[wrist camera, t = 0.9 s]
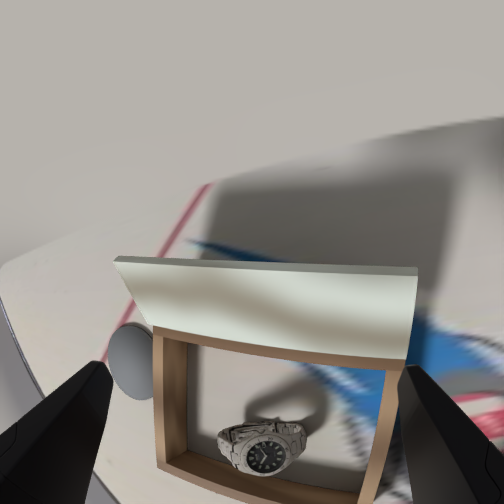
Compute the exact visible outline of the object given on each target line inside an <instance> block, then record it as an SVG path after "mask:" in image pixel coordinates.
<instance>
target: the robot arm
mask: <svg viewBox="0 0 504 504" xmlns="http://www.w3.org/2000/svg"><path fill="white" fill-rule="evenodd" d="M112 389H113V378H112V376H111V374H110V372H109V370H108V368H107V367H106V365H105V363H103V362H101V361H91V362H89V363H88V364H87V365H85V366H84V367H83V368H82V369H80V370H79V371H78V372H77V373H76V374H74V375H73V376H72V377H71V378H69V379H68V380H67V381H66V382H64V383H63V384H62V385H61V386H59V387H58V388H57V389H56V390H55V391H53V392H52V393H51V394H50V395H48V396H47V397H46V398H45V399H44V400H42V401H41V402H40V403H39V404H37V405H36V406H35V407H34V408H33V409H31V410H30V411H29V412H28V413H27V414H25V415H24V416H23V417H22V418H21V419H20V420H18V422H16V423H14V424H13V425H12V426H11V427H9V428H8V429H7V430H6V431H4V432H3V433H2V434H1V435H0V504H85V499H86V495H87V491H88V487H89V483H90V479H91V475H92V471H93V468H94V464H95V460H96V456H97V453H98V449H99V446H100V442H101V438H102V435H103V432H104V428H105V424H106V420H107V415H108V409H109V404H110V399H111V394H112ZM397 392H398V402H399V412H400V423H401V433H402V439H403V445H404V450H405V455H406V461H407V466H408V472H409V478H410V484H411V491H412V498H413V504H504V455H503V454H502V453H501V452H500V451H499V450H498V449H497V448H496V446H495V445H494V444H493V443H492V442H491V441H489V439H488V438H487V437H486V436H485V434H484V433H483V432H482V431H481V430H480V429H479V428H478V427H477V426H476V425H475V424H474V422H473V421H472V420H471V419H470V418H469V417H468V416H467V415H466V414H465V413H464V412H463V411H462V410H461V408H460V407H459V406H458V405H457V404H456V403H455V402H454V401H453V400H452V399H451V398H450V397H449V396H448V395H447V394H446V393H445V392H444V390H443V389H442V388H441V387H440V386H439V385H438V384H437V383H436V382H435V381H434V380H433V379H432V378H431V377H430V376H429V375H428V374H427V373H426V372H425V371H424V370H423V369H422V368H421V367H420V366H419V365H417V364H414V365H407V366H405V367H404V368H403V371H402V373H401V376H400V378H399V381H398V384H397Z"/></svg>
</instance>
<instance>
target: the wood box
mask: <svg viewBox="0 0 504 504" xmlns="http://www.w3.org/2000/svg"><path fill="white" fill-rule="evenodd" d="M113 262H114V264H115V266H116V268H117V270H118V272H119V274H120V276H121V277H122V279H123V281H124V283H125V285H126V287H127V288H128V290H129V292H130V294H131V296H132V297H133V299H134V301H135V303H136V304H137V306H138V308H139V309H140V311H141V313H142V315H143V316H144V318H145V320H146V321H147V323H148V324H149V325H153V402H154V426H155V443H156V457H157V468H159V469H161V470H163V471H165V472H168V473H170V474H172V475H174V476H176V477H179V478H181V479H183V480H186V481H188V482H190V483H193V484H195V485H198V486H200V487H203V488H205V489H208V490H210V491H213V492H216V493H218V494H221V495H224V496H227V497H230V498H233V499H236V500H239V501H242V502H245V503H248V504H373V501H374V498H375V495H376V491H377V488H378V485H379V482H380V478H381V475H382V471H383V468H384V464H385V460H386V456H387V453H388V449H389V445H390V440H391V436H392V432H393V427H394V423H395V418H396V413H397V408H398V403H399V402H398V392H397V384H398V381H399V378H400V376H401V373H402V371H403V368H404V367H405V360H406V357H407V352H408V346H409V341H410V335H411V328H412V322H413V315H414V308H415V300H416V291H417V282H418V267H399V266H365V265H334V264H305V263H277V262H251V261H226V260H202V259H178V258H156V257H134V256H118V257H117V258H116V259H115V260H114V261H113ZM187 342H188V343H193V344H198V345H203V346H208V347H213V348H218V349H223V350H229V351H234V352H240V353H246V354H251V355H258V356H264V357H270V358H277V359H284V360H291V361H298V362H306V363H314V364H322V365H331V366H340V367H350V368H362V369H374V370H386V375H385V382H384V389H383V395H382V401H381V406H380V412H379V417H378V422H377V427H376V432H375V437H374V441H373V446H372V450H371V454H370V459H369V463H368V467H367V471H366V474H365V478H364V482H363V485H362V489H361V493H353V492H346V491H339V490H332V489H326V488H321V487H315V486H310V485H305V484H300V483H295V482H291V481H286V480H282V479H278V478H274V477H270V476H257V475H252V474H249V473H244V472H242V471H240V470H238V469H236V468H235V467H234V466H232V465H228V464H225V463H222V462H219V461H216V460H213V459H211V458H208V457H205V456H202V455H199V454H197V453H194V452H191V451H189V450H187Z"/></svg>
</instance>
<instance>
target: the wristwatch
mask: <svg viewBox="0 0 504 504" xmlns="http://www.w3.org/2000/svg"><path fill="white" fill-rule="evenodd" d="M217 442H218V447H219V449H220V451H221V453H222V454H223V455H224V456H226V457H227V458H228V459H229V460H230V461H231V462H232V464H233V466H234V467H235V468H236V469H238V470H240V471H242V472H244V473H249V474H252V475H257V476H270V475H274V474H276V473H278V472H280V471H281V470H283V469H285V468H286V467H287V466H289V465H290V464H291V463H292V462H293V460H294V459H295V458H297V457H298V456H300V455H301V453H302V452H303V451H304V450H305V448H306V442H307V435H306V432H305V430H304V427H303V426H302V425H301V424H299V423H280V422H279V423H276V422H274V421H272V422H270V421H262V422H245V423H243V425H236V426H232V427H229V428H226V429H223V430H222V431H220V432H219V433H218V440H217Z"/></svg>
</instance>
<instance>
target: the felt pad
mask: <svg viewBox="0 0 504 504" xmlns="http://www.w3.org/2000/svg"><path fill="white" fill-rule="evenodd" d="M108 362H109V367H110V370H111V373H112V376H113V378H114V380H115V382H116V383H117V385H118V386H119V388H120V389H121V390H122V391H123V392H124V393H125V394H126V395H128V396H129V397H131V398H133V399H136V400H146V399H149V398H151V397H153V340H152V338H151V337H150V336H149V335H148V334H147V333H146V332H145V331H143V330H142V329H140V328H138V327H135V326H124V327H121V328H119V329H117V330H116V331H115V332H114V334H113V335H112V337H111V339H110V342H109V346H108Z"/></svg>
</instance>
